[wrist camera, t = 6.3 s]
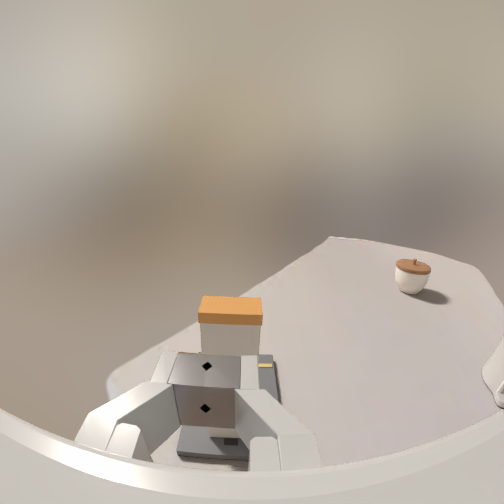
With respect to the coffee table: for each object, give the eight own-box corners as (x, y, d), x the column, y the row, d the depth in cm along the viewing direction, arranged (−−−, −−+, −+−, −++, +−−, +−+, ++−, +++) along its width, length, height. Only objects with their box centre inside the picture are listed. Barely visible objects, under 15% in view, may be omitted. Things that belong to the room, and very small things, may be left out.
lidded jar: (412, 282, 79) (417, 253, 76) (431, 296, 69) (439, 265, 66) (385, 284, 78) (390, 253, 75) (404, 299, 67) (411, 265, 65)
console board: (284, 459, 26) (285, 454, 25) (177, 454, 25) (176, 449, 25) (271, 359, 45) (272, 353, 44) (198, 356, 44) (198, 351, 44)
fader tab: (253, 439, 27) (262, 314, 23) (208, 437, 27) (198, 312, 23) (253, 419, 31) (260, 297, 26) (210, 418, 30) (203, 295, 26)
